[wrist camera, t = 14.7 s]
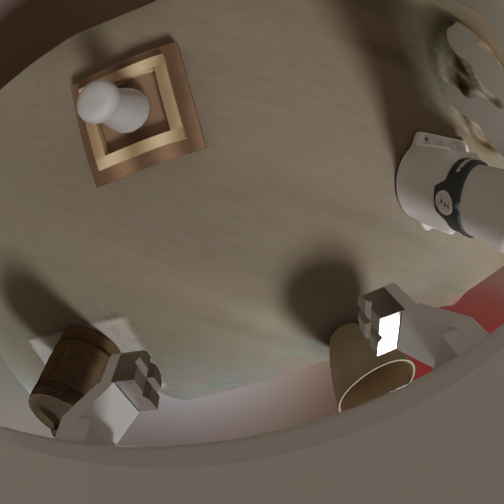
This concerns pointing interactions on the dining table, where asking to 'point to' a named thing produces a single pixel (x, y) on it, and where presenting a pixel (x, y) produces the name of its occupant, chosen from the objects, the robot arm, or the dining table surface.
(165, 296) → the dining table surface
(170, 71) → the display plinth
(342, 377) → the plant pot
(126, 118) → the salt shaker
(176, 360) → the dining table surface
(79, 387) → the wooden container
